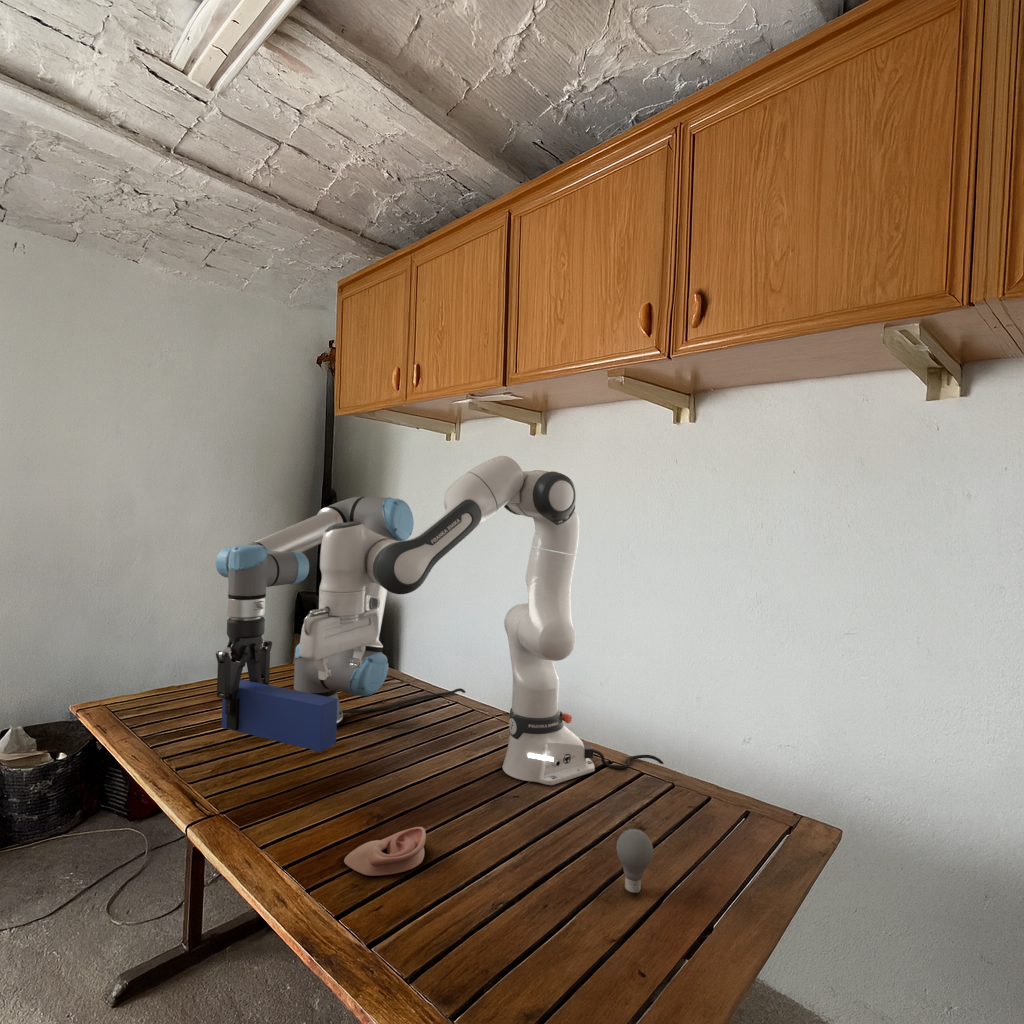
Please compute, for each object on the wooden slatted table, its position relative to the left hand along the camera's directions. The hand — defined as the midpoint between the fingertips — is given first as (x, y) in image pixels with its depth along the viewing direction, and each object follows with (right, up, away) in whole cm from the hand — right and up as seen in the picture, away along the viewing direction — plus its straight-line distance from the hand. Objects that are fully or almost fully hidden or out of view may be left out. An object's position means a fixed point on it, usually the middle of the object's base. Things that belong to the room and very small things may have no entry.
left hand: (242, 724), depth 137 cm
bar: (+9, -1, -4) cm, 10 cm away
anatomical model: (+36, -16, -25) cm, 46 cm away
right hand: (+24, +14, -11) cm, 30 cm away
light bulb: (+78, -18, -31) cm, 86 cm away
